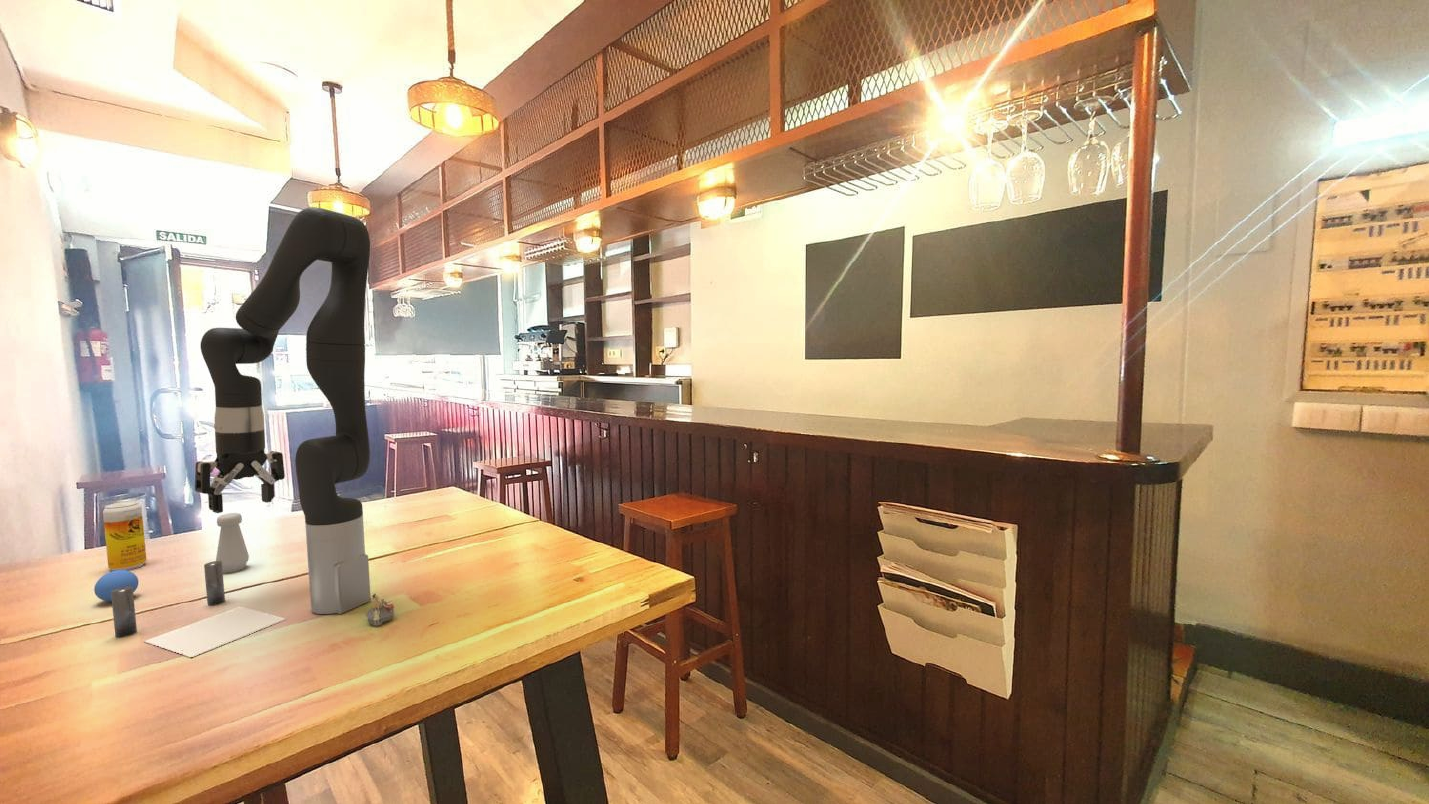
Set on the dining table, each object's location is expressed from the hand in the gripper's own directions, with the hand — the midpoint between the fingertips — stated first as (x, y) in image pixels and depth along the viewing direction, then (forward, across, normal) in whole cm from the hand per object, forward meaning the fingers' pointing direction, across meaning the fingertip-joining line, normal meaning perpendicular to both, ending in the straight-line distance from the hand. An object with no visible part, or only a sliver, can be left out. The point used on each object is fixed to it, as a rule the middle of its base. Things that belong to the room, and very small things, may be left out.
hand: (243, 506), depth 111 cm
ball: (+16, -12, +20) cm, 29 cm away
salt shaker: (+20, +6, +17) cm, 27 cm away
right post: (+18, -5, 0) cm, 19 cm away
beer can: (+21, -2, +42) cm, 47 cm away
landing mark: (+17, -12, -14) cm, 25 cm away
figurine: (+16, +2, -38) cm, 41 cm away
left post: (+18, -18, 0) cm, 26 cm away
